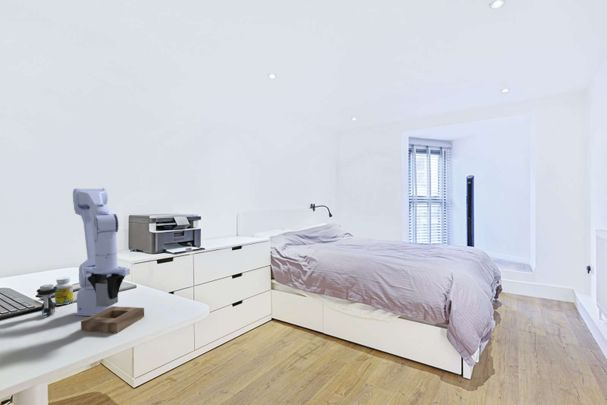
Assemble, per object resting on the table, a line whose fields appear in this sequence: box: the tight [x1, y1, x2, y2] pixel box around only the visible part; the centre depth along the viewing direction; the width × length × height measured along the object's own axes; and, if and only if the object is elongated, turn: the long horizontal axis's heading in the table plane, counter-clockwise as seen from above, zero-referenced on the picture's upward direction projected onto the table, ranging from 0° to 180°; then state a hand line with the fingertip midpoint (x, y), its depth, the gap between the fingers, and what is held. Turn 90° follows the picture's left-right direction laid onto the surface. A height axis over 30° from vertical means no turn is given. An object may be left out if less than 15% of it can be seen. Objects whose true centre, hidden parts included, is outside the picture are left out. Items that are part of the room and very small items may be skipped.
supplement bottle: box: [54, 276, 74, 305], centre depth 116 cm, size 5×5×10 cm
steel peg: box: [96, 280, 119, 307], centre depth 95 cm, size 4×4×7 cm
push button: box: [36, 283, 57, 319], centre depth 105 cm, size 7×5×10 cm
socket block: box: [80, 305, 145, 334], centre depth 97 cm, size 12×12×3 cm
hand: (107, 297), depth 95 cm, fingers closed on steel peg, 4 cm apart
